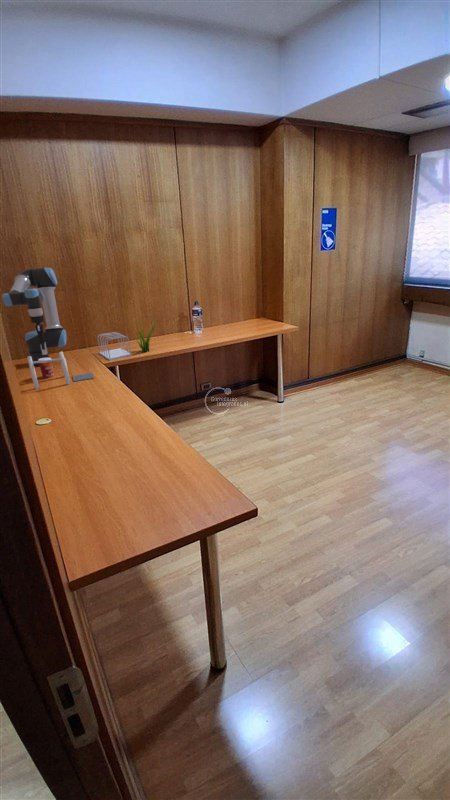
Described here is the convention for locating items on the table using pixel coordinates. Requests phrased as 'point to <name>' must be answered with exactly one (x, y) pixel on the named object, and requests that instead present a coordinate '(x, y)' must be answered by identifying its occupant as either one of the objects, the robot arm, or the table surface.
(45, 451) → the table surface
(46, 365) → the coffee cup
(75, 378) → the mat
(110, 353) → the file sorter
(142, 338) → the decorative plant
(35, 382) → the white hurdle
